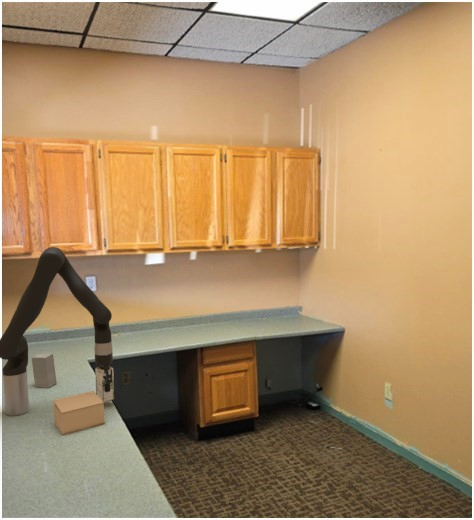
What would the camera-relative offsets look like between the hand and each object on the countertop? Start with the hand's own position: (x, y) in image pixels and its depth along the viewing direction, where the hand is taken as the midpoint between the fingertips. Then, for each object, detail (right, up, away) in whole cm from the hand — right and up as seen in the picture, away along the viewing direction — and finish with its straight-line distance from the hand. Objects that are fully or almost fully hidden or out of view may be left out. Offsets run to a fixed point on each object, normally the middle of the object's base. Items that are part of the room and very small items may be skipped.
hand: (104, 389), depth 202 cm
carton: (-5, -9, -18) cm, 21 cm away
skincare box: (-38, -6, +27) cm, 47 cm away
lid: (-5, 0, -19) cm, 19 cm away
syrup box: (0, -5, 0) cm, 5 cm away
